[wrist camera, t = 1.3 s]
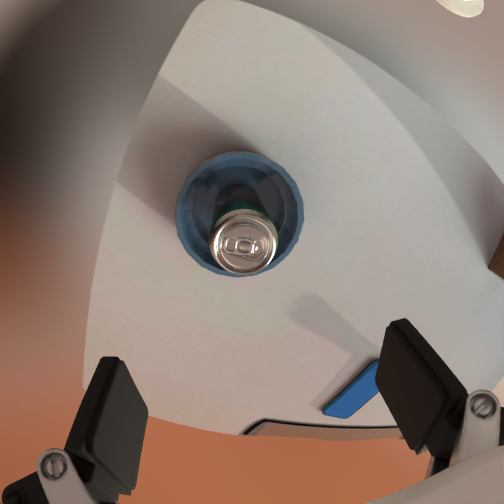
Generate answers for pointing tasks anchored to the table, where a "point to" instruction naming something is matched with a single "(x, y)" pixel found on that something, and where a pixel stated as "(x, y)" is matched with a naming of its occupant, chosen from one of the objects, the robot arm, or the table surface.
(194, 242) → the bowl
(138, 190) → the table surface
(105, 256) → the table surface
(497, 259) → the plinth
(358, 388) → the smartphone
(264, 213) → the soda can
